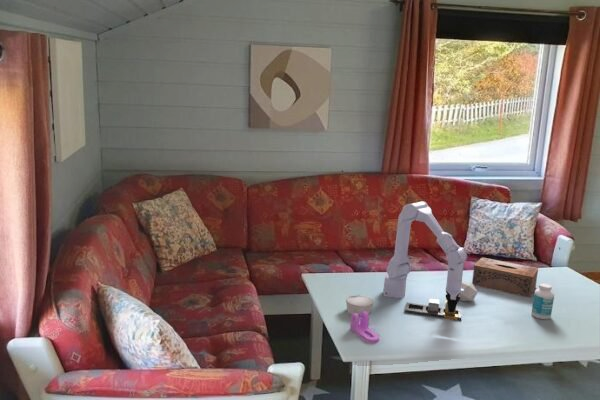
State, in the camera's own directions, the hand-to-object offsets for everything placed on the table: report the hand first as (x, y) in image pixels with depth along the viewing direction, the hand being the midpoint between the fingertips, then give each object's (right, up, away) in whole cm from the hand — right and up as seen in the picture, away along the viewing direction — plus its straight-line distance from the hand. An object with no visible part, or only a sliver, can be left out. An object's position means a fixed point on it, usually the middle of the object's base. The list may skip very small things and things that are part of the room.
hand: (451, 309), depth 221 cm
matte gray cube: (-7, -2, +2) cm, 7 cm away
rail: (-7, -2, +2) cm, 8 cm away
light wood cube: (0, -2, +1) cm, 2 cm away
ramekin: (-37, -2, +2) cm, 37 cm away
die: (+11, 0, +18) cm, 21 cm away
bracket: (-37, -6, -18) cm, 41 cm away
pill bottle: (+38, -4, +5) cm, 39 cm away
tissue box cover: (+35, +3, +37) cm, 51 cm away
